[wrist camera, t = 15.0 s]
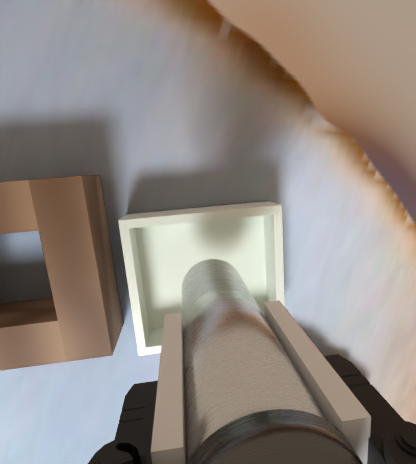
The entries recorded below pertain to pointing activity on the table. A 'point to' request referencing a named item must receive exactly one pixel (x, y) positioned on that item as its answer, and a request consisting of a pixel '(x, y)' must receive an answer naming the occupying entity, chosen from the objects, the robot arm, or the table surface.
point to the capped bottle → (245, 382)
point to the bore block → (62, 274)
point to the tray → (197, 257)
